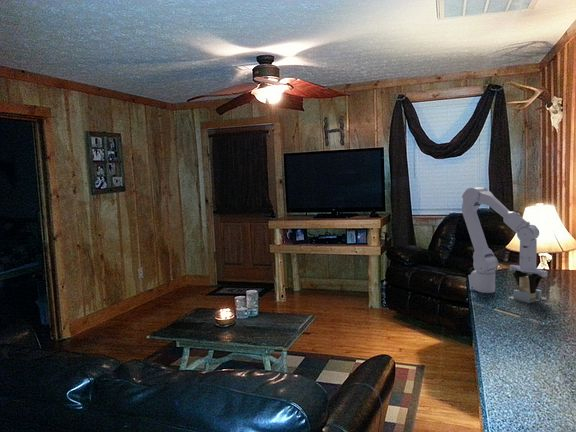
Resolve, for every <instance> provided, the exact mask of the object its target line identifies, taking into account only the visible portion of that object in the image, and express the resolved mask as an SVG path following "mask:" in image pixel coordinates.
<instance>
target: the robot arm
mask: <svg viewBox="0 0 576 432" xmlns="http://www.w3.org/2000/svg"><path fill="white" fill-rule="evenodd" d="M461 198H462V206H461V212H462V216H463V219H464V222H465V225H466V228H467V232H468V234H469V238H470V241H471V244H472V247H473V249H474V251H473V255H472V259H473V263H472V265H473V266H472V267H473V269H474V270H472V271H471V272H470V276H469V291H472V290H473V291H475V292H479V293H485V294H486V293H487V294H492V293H495V292H496V269H497V268H498V265H499V260H498V258H497V257H496V256H495V254H494V252H493V250H492V249H491V248H489V245H488V243H487V240H486V237H485V233H484V230H483V228H482V225H481V222H480V218H479V215H478V209H479V208H480V207H481V205H486V206H488V207H490V208H491V209H492V210H493V211H495V212H496V213H497V214H498V215H500V216H501V217H502V218H503V223H504V224H505V225H506V226H507V227H509V228H510V229H511V230H512V231H513V232H514V233H515V234H516V237H517V238H518V240H519V265H515V264H510V265H509V271H512V272H513V271H514V272H513V274H512V275H513V277H514V278H515V280H516V283H517V286H518V287H519V277H523V276H528V278H529V281H530V293H532V294H533V293H536V289H538V285H539V284H540V282H541V280H542V279H543V278H547V277H548V271H547V270H544V269H540V268H538V267H537V249H538V248H537V247H538V246H537V240H538V239H537V238H538V237H539V236H540V230H539V229H538V227H537V226H536V225H534V224H531V222H530V221H527V220H525V219H524V218H523V217H522V216H521V213H519V212H516V211H510V210H509V209H508V208H507V207H506V206H505V205H504V204H503V203H502V202H501V201H500V200H499V199H498V198H496V197H495V195H494V194H493V193H492V192H491V191H490V190H488V189H487V188H486V187H484V186H479V187H469V188H467V189H466V190H465V191H464V192H463V194H462V195H461ZM528 274H529V275H528Z"/></svg>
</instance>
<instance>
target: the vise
mask: <svg viewBox="0 0 576 432" xmlns="http://www.w3.org/2000/svg"><path fill="white" fill-rule="evenodd" d="M512 291H513V295H512V296H507V298H509V299H511V300H514V301H515V300H517V301H519V302H524V303H527V304H530V303H535V302H538V301H543V300H546V299H548V298H547V297H543V296H542V294H543V293H542V290H541V289H538V288H537V289H536V298H535V299H530V293H528V292H524V291H520V290H519V289H513V290H512Z"/></svg>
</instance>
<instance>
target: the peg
mask: <svg viewBox="0 0 576 432" xmlns="http://www.w3.org/2000/svg"><path fill="white" fill-rule="evenodd" d="M528 276H529V275H526V276H523V277H519V286H518V290H520V291H524V292H528V293H530V281H529V278H528ZM535 298H536V293H533V294H532V293H530V299H535Z"/></svg>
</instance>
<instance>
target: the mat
mask: <svg viewBox="0 0 576 432" xmlns="http://www.w3.org/2000/svg"><path fill="white" fill-rule="evenodd" d="M493 311H494V312H497V313H501V314H503V315H508V316H511V317H515V318H517V319H519V318H523V317H526V315H524V314H519V313H515V312H512V311H509V310H506V309H501V308H494V309H493Z"/></svg>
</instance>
